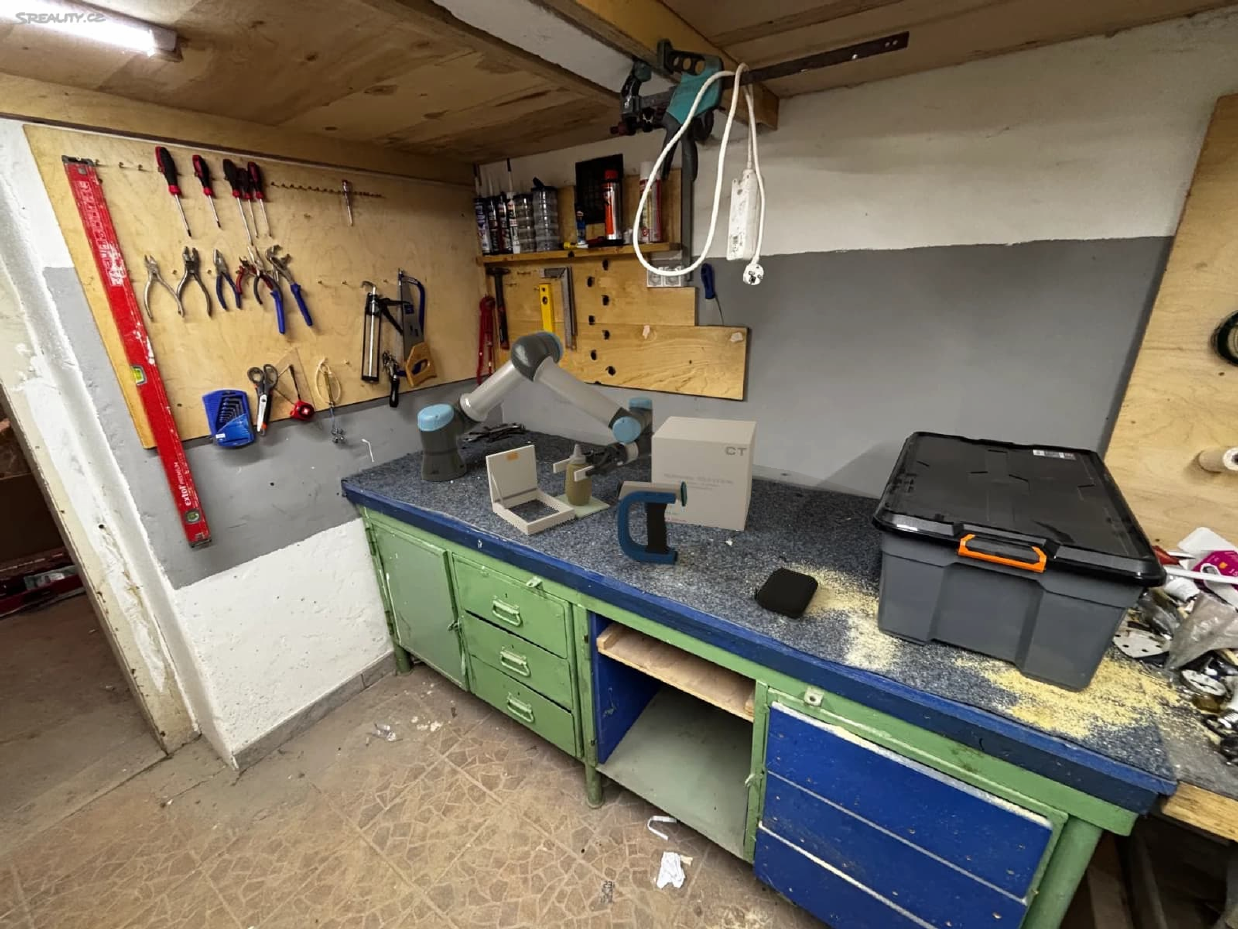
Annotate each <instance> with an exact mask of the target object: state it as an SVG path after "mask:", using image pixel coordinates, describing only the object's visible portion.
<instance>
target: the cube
mask: <svg viewBox="0 0 1238 929" xmlns="http://www.w3.org/2000/svg"><path fill="white" fill-rule="evenodd" d="M756 430H757V421H755V420H754V421H753V420H752V421H751V420H733V419H720V418H719V419H718V418H706V417H705V418H703V417H688V416H686V417H685V416H675V415H673V416H671V415H670V416H669V417H667V419H666V420H665V422H663V423H662V424H661V426H660V427H659V428H657V430H656V431H655V432H654V433H655V434H654V435H653V436H652V454H651V483H664V484H679V485H681V483H682V482H685V483H686V489H687V504H686V506H685V507H683V506H682V502H680V501H679V500H677V499H676V502H675V504H667V508H666V510H665V522H669V523H678V524H684V525H691V524H694V526H699V525H701V526H700V527H707V526H708V527H709V528H715V527H718V528H717V529H723V530H732V531H739V532H744V531H745V525H746V522H747V517H748V513H749V508H750V503H751V495H752V485H753V484H752V482H753V471H754V470H753V469H754V457H755V456H754V455H755V441H756V432H757V431H756Z"/></svg>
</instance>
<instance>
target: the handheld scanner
mask: <svg viewBox="0 0 1238 929" xmlns="http://www.w3.org/2000/svg"><path fill="white" fill-rule="evenodd" d="M616 491H617V492H616V497H617V498H618V501H620V503H619V504H618V508H617V516H616V517H617V518H616V530H617V540H618V544H619V547H620V549H621V551H622V552H623V554H625V555H626V556H627V557H628V558H630V559H631V560H633V561H637V562H640V563H641V562H642V563H650V564H651V563H652V564H662V565H674V563H675V562H677V560H678V557H679V552H678V550H676V549H677V548H676V547H672V546H669V545H668V530H667V529H668V526H667V521H665V510H666V508H667V504H675V502H676V499H677V500H679V501H680V502H682V506H683V507H685V506H686V504H687V489H686V483H685V482H682V483H681V485H679V484H664V483H652V482H648V481H647V482H645V481H635V480H634V481H633V480H632V481H631V480H624V482H621V483H620V482H618V483H617V484H616ZM637 502H639V503H640V502H641V503H643V505H644V513H645V514H646V533H647V534H646V535H647V538H646V539H647V544H641V543H639V542H636V541H635V540H634V539H633V538H632V536H631V533H630V523H629V522H630V519H629V518H630V515H629V514H630V512H629V511H630V505H631V504H633V503H637Z"/></svg>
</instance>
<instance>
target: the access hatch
mask: <svg viewBox="0 0 1238 929" xmlns="http://www.w3.org/2000/svg"><path fill="white" fill-rule="evenodd" d="M485 460H486V467H487V468H486V470H487V477H488V483H489V484H488V486H489V492H490V493H489V494H490V502H491V505H492V511H493V513H495V514H496V513H497V514H496V515H498V516H499V517H501V519H503V520H505V521H506V520H507V521H506V522H508V523H509V524H510V525H512V526H513V525H514V526H513V527H514V528H516V527H517V528H516V529H518V530H519V531H520V532H522V533H523V534H525V535H527V536H528V535H529V536H532V535H534V534H536V533H539V531H540V532H542V531H545V530H547V529H546V528H548V527H550V528H553V527H555V526H554V525H556V524H558V525H561V524H563V523H562V522H564V523H566V522H565V521H567V520H569V521H572V520H574V518H575V517H576V516H574V509H573V508H572V507H570V506H568V505H566V504H564V503H563V502H561V501H559V500H557V499H555V498H554V497H553V496H552V495H549V493H546V492H544V491H543V490H541V489H540V488H539V487H538V486H539V484H538V475H537V464H536V461H537V460H536V451H535V445H534V444H530V445H526V446H521V447H518V448H514V449H510V450H506V451H501V452H498V453H494V454H489V455H486V456H485ZM531 500H532V501H534V500H537V501H539V500H540V501H539V502H541V503H542V502H543V503H542V504H544V503H545V504H544V505H546V504H547V505H546V506H547V507H549V506H550V507H549V508H551V507H552V509H553V508H554V509H555V510H554V509H553V510H554V511H556V510H558V511H559V512H558V511H557V512H556V513H553V514H550V515H547V516H545V517H542V518H539V519H536V520H533V521H531V522H528V521H526V520H524V518H522V517H520V516H518V515H517V514H515V513H514V512H512V511H511V510H510V509H509V508H513V507H516V506H518V505H522V504H524V503H528V501H529V502H531ZM571 519H572V520H571ZM567 522H568V521H567ZM560 523H561V524H560ZM552 526H553V527H552ZM556 526H557V525H556ZM544 529H545V530H544ZM548 529H549V528H548ZM531 534H532V535H531Z"/></svg>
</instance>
